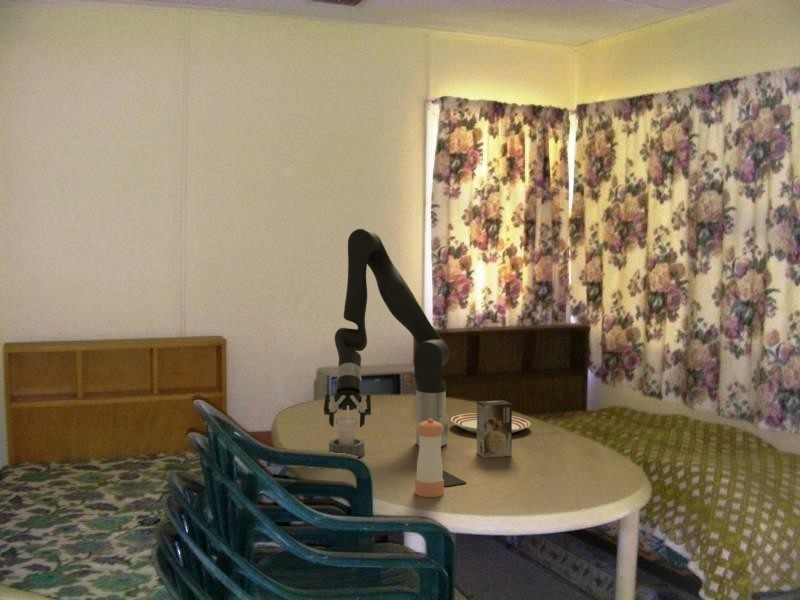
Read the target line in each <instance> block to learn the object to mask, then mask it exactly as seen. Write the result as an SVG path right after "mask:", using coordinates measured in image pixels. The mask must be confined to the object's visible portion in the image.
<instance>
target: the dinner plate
mask: <svg viewBox="0 0 800 600" xmlns="http://www.w3.org/2000/svg"><path fill="white" fill-rule="evenodd" d="M450 422H451V423H452V424H454V425H455V426H456V427H458V428H461V429H463V430H466V431H467V432H469V433H474V434H477V412H475V413H473V412H472V413H462V414H457V415H454V416H452V417H451V418H450ZM531 424H532V423H531V422H530V421H528V420H527V419H525V418H523V417H518V416H513V415H512V434H515V433H516V432H520V431H522V430H524V429H527V428H529V427H530V426H531Z"/></svg>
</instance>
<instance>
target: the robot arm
mask: <svg viewBox="0 0 800 600" xmlns="http://www.w3.org/2000/svg"><path fill="white" fill-rule="evenodd" d="M368 267H369V269H370V270H371V272H372V273H373V275H374V278H375V280H376V283H377V288H378V292H379V294H380V296H381V298H382V301H383V302H384V304H385V306H386V307H387V309H388V310H389V312H390V314H391V315H392V316H393V317H394V318H395V319H396V320H397V321H398V322H399V323H400V325H402V326H403V327H404V328H405V329H407V330H408V332H409V333H410V334H411V336H412V337H413V339H414V341H415V343H416V344H417V346H416V348H415V350H414V357H413V358H414V359H413V366H414V367H413V368H414V370H413V372H414V375H413V376H414V382H415V385H416V398H415V399H416V404H415V406H416V407H415V409H416V414H415V415H416V416H415V445H417V446H418V447H419V438H420V435H419V434H418V433H417V430H416V429H417V426H418V424H419V423H421V422H423V421H427V420H428V419H429V418H431V419H433V420H434V421H437V422H439V423H441V424H442V425H443V427H444V432H443V434H442V435H441V448H442V447H443V446H445V445H447V444H448V429H449V428H448V425H449V424H448V423H449V419H448V418H449V415H448V414H447V413H446V402H447V401H446V398H447V397H446V390H447V383H446V381H445V380H444V379H443V366H445V365H446V364H447V363H448V361H449V359H450V350H449V348H448V345H447V344H446V342H445V341H444V340H443V338H442V337H441V336H440V334H439V333H438V332H437V331H436V329H435V328H434V326H433V325H432V323H431V322H430V321H429V319H428V318H427V316H426V314H425V312H424V310H423V309H422V307H421V305H420V304H419V302H418V300H417V299H416V297H415V295H414V294H413V291H412V290H411V288H410V287H409V285H408V283H407V282H406V281H405V279H404V277H403V276H402V275H401V273H400V272H399V271H398V269H397V267H396V266H395V265H394V263H393V262H392V259H391V258H390V256H389V254H388V252H387V250H386V247H385V245H384V244H383V242H382V240H381V237H380V235H378V234H377V233H376V232H375V231H373V230H369V229H365V228H357V229H355V230H353V231H352V232H351V233H350V235H349V237H348V240H347V284H346V286H347V287H346V294H345V295H346V296H345V300H344V301H345V302H344V308H343V309H344V310H343V319H344V320H346V321H348V322H351V323H354V324H355V325H356V327H357V328H348V327H340V328H338V329H337V330H336V332H335V334H334V344H335V348H336V351H337V354H338V370H337V374H336V388H335V395H330V394H328V393H326V394H325V397H324V405H323V414H324V415H325V416H328V424H329V425H330V426H331V428H333V427H334V426H335V415H336V414H337V413H340V411H341V410H342V411H347V406H349V411H354V410H355V411H356V412H357V413H358V414H359V428H362V427H363V426H365V424H366V423H365V420H366V418H365V417H366V416H371V415H372V404H371V403H372V402H371V394H366V395H365V396H364V395H363V396H362V395H361V392H362V391H361V389H362V372H361V369H362V368H361V367H362V357H361V354H360V353H359V352H362V351H364V350H365V349H366V347H367V344H368V337H367V336H368V335H367V329H366V312H367V304H368V286H367V285H368V283H367V269H368ZM333 401H334V404H333V406H332V407H331V408H330V404H332V402H333ZM362 401H363V403H364V404H366V409H364V408H363V406H362V404H361V402H362Z"/></svg>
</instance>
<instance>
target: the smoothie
mask: <svg viewBox="0 0 800 600" xmlns="http://www.w3.org/2000/svg"><path fill="white" fill-rule="evenodd" d="M335 424H336V427H337V435H338V438H339V444H340V445H354V438H355V435H356V427H357V424H358V419H357V418H354V417H350V410H349V406H347V410H346V417H339V418H336V420H335Z"/></svg>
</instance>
